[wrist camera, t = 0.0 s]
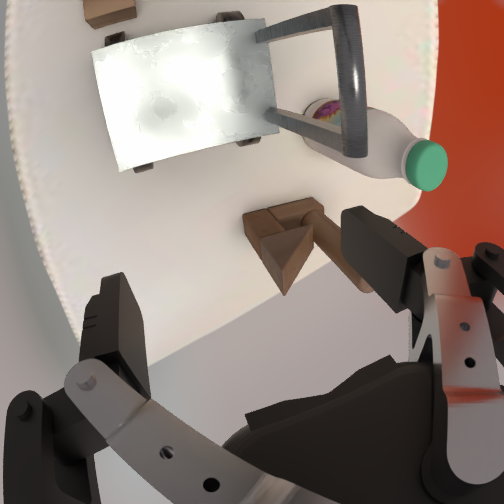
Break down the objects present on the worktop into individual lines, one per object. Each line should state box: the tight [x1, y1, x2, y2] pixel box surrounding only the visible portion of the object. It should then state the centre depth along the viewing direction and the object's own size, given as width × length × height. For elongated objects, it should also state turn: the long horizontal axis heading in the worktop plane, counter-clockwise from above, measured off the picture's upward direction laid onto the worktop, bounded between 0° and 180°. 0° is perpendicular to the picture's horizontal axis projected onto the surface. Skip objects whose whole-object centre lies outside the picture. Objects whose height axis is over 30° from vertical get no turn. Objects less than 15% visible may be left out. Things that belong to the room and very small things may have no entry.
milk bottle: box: [303, 99, 448, 191], centre depth 32 cm, size 8×8×20 cm
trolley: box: [91, 4, 368, 173], centre depth 23 cm, size 16×16×23 cm
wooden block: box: [243, 198, 374, 296], centre depth 38 cm, size 4×11×18 cm, turn 98°
